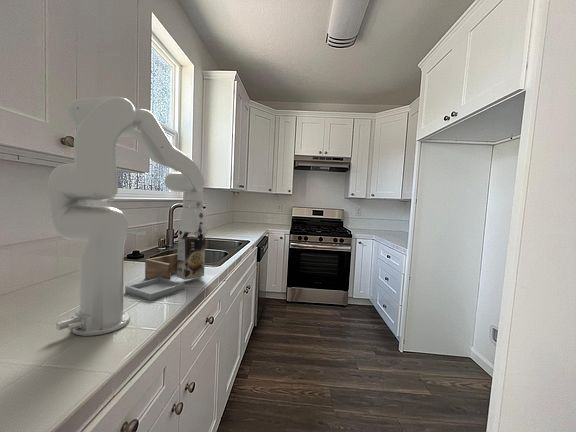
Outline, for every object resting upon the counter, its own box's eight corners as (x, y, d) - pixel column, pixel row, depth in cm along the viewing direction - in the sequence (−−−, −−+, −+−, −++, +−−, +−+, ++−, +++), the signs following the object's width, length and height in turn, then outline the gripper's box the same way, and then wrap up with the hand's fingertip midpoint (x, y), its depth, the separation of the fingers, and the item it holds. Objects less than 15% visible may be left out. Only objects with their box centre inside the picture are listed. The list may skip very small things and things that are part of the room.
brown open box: (167, 284, 107) (168, 264, 106) (145, 278, 113) (145, 259, 113) (201, 274, 122) (201, 257, 121) (179, 269, 129) (179, 253, 128)
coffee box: (185, 280, 106) (186, 239, 106) (176, 277, 110) (177, 237, 109) (204, 275, 114) (206, 237, 113) (195, 273, 117) (196, 236, 117)
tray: (150, 301, 89) (150, 294, 89) (125, 292, 96) (125, 286, 96) (184, 289, 102) (184, 283, 101) (160, 282, 108) (160, 277, 108)
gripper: (215, 206, 110) (213, 249, 111) (185, 204, 118) (184, 245, 119) (201, 206, 103) (199, 252, 104) (170, 204, 111) (169, 247, 112)
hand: (191, 248), depth 111 cm, fingers closed on coffee box, 6 cm apart
